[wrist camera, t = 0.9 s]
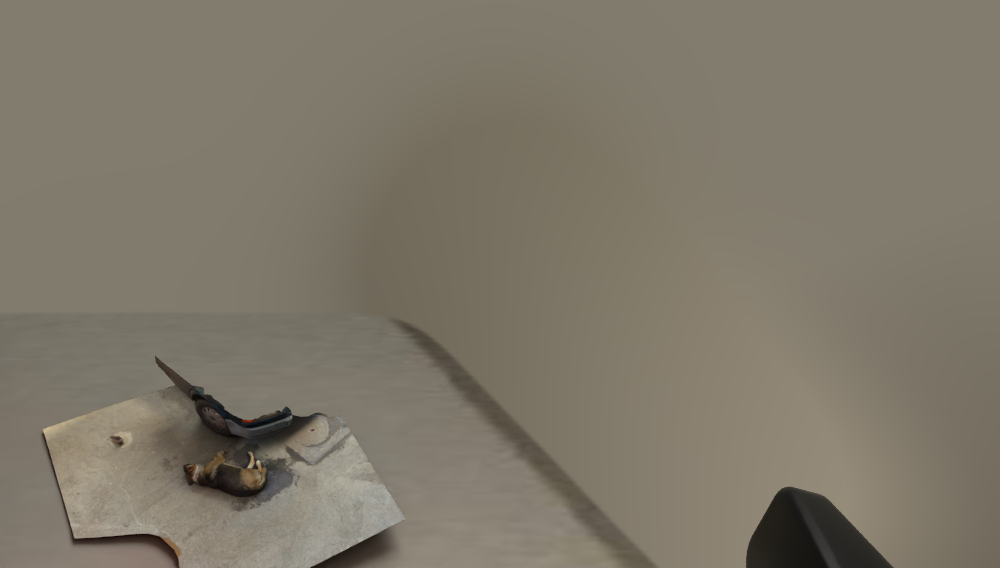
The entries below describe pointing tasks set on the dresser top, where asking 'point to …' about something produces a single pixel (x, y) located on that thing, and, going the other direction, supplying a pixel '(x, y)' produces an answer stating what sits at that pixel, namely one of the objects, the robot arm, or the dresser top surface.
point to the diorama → (219, 480)
